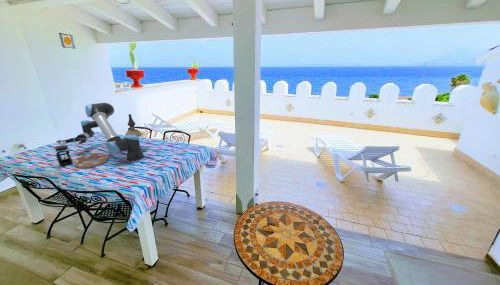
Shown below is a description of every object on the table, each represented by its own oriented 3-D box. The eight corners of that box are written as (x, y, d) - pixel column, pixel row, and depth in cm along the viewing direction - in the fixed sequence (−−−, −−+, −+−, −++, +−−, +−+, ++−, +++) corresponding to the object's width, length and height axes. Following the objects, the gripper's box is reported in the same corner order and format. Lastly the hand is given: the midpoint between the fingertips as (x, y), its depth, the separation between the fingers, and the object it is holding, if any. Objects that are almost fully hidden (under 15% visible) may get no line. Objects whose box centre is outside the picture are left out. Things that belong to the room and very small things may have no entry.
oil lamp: (125, 152, 214) (117, 115, 201) (135, 147, 228) (128, 112, 214) (137, 153, 212) (131, 116, 198) (147, 148, 226) (141, 113, 212)
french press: (65, 161, 191) (58, 138, 184) (76, 161, 192) (69, 138, 184) (55, 167, 180) (47, 143, 172) (66, 167, 181) (58, 143, 173)
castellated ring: (113, 158, 200) (111, 153, 198) (93, 169, 178) (91, 163, 176) (91, 156, 203) (90, 151, 201) (69, 167, 181) (67, 161, 179)
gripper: (96, 140, 213) (84, 147, 193) (70, 141, 209) (54, 148, 190) (95, 133, 210) (82, 140, 190) (68, 134, 207) (52, 141, 187)
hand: (68, 144), depth 190 cm, fingers open, 13 cm apart
